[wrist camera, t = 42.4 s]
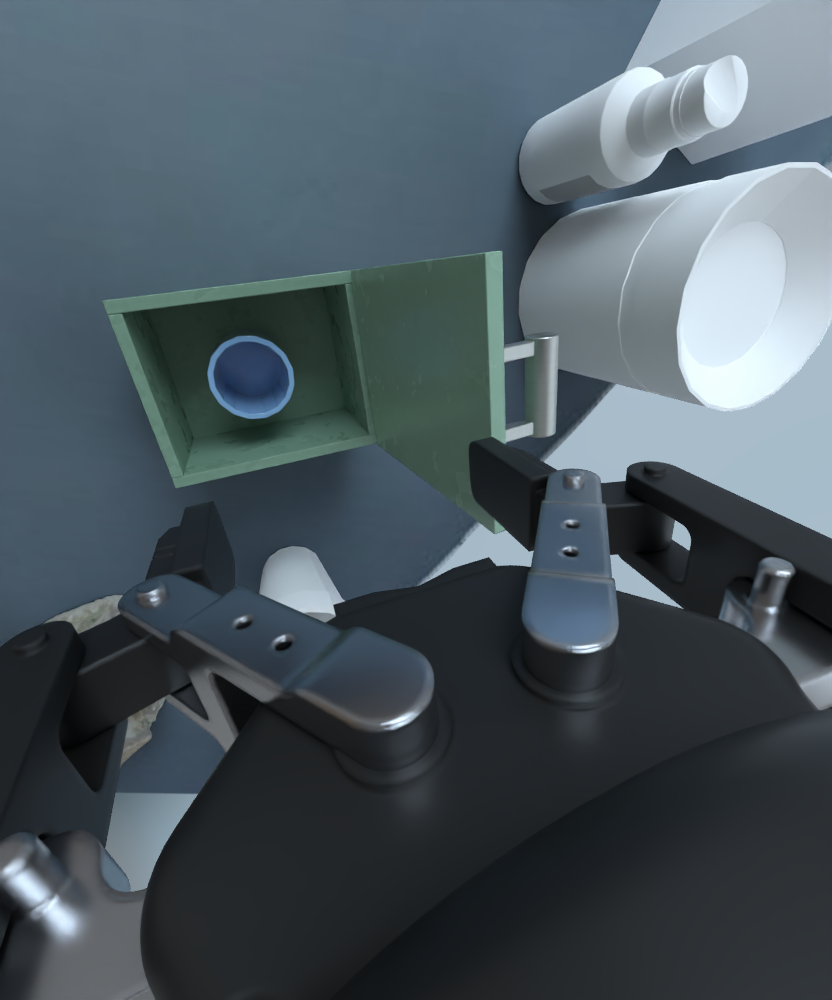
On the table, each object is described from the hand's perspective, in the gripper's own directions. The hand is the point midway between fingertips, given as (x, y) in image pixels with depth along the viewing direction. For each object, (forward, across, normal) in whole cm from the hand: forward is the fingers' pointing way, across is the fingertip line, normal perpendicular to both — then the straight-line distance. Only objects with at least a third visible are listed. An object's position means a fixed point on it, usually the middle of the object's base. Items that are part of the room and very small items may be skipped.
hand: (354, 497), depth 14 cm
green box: (+32, +2, 0) cm, 32 cm away
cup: (+31, +3, 0) cm, 31 cm away
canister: (+32, -33, -1) cm, 46 cm away
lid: (+13, -6, 0) cm, 14 cm away
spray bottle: (+32, -28, -13) cm, 45 cm away
